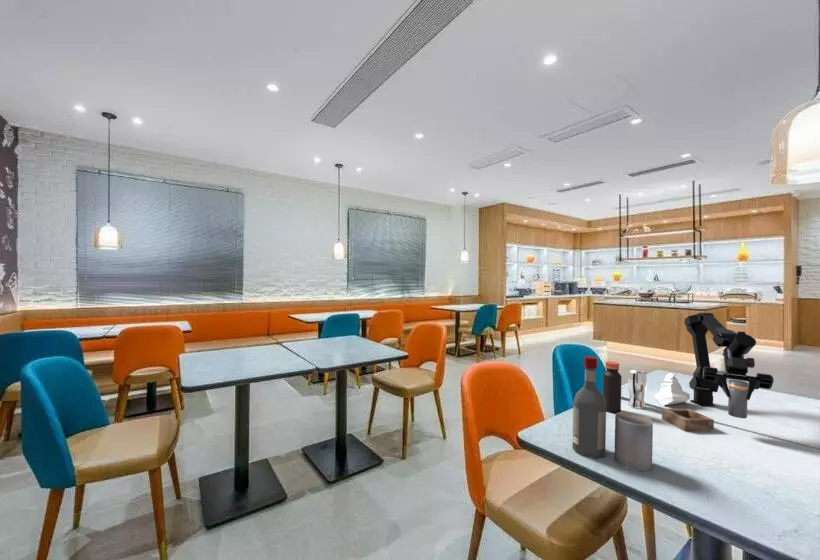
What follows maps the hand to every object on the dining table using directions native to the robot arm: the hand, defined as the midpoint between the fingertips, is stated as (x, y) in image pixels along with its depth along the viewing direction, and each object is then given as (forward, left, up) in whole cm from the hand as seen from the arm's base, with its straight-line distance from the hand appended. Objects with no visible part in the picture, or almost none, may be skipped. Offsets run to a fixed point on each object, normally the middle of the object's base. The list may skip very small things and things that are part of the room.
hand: (738, 398), depth 126 cm
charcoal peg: (-1, +1, -7) cm, 7 cm away
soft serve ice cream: (-32, +2, -14) cm, 35 cm away
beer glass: (-29, -16, -14) cm, 36 cm away
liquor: (+8, -59, -14) cm, 61 cm away
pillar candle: (+16, -50, -14) cm, 54 cm away
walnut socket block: (-10, -10, -13) cm, 20 cm away
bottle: (-25, -30, -14) cm, 41 cm away
